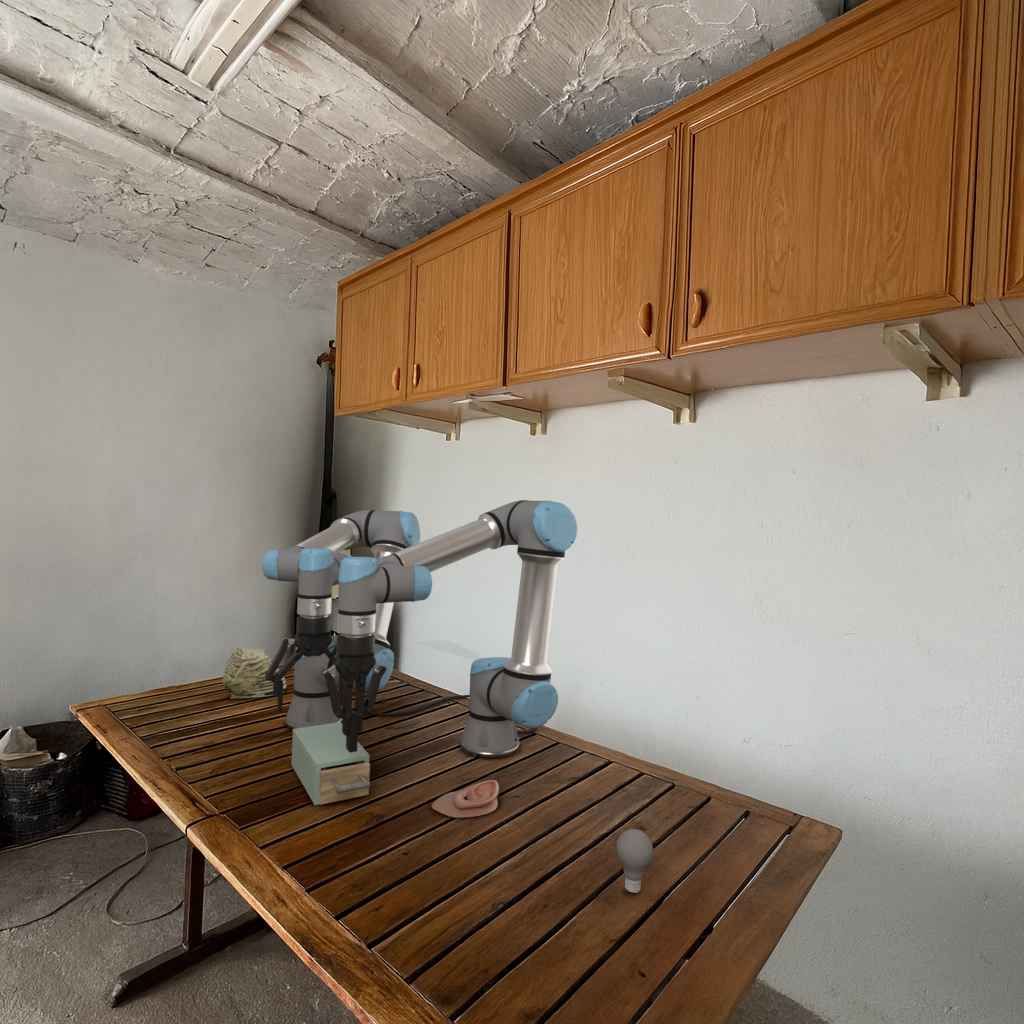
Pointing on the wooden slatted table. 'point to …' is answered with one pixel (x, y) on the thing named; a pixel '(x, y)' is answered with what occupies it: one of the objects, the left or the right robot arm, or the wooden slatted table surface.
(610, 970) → the wooden slatted table surface
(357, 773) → the drawer
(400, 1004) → the wooden slatted table surface
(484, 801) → the anatomical model
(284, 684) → the fossil
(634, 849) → the light bulb
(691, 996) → the wooden slatted table surface
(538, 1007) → the wooden slatted table surface
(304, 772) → the cabinet
